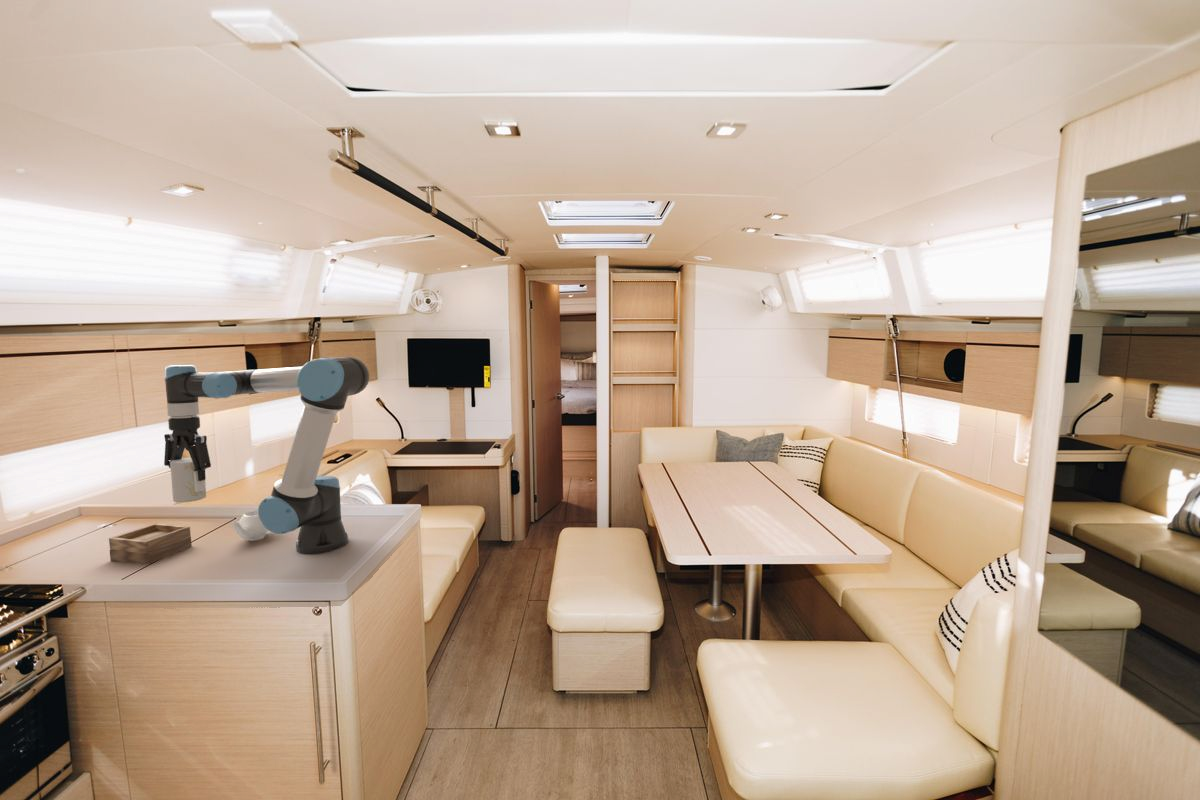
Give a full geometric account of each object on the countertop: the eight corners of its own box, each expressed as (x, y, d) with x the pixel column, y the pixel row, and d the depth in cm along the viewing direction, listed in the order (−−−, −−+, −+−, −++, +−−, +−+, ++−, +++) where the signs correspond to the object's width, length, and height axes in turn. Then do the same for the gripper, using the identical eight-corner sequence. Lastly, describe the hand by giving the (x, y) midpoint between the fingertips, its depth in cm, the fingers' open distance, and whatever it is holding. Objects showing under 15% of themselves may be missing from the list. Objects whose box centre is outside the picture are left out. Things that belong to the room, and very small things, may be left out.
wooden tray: (190, 537, 175) (189, 526, 174) (145, 553, 161) (144, 542, 161) (156, 533, 178) (155, 523, 177) (109, 549, 164) (108, 538, 164)
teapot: (288, 529, 192) (286, 504, 191) (249, 551, 172) (247, 523, 171) (262, 529, 192) (260, 503, 191) (220, 550, 172) (218, 522, 171)
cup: (188, 503, 160) (185, 464, 159) (166, 501, 162) (163, 462, 161) (212, 495, 168) (210, 458, 167) (191, 494, 170) (188, 456, 168)
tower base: (191, 546, 176) (190, 536, 175) (149, 564, 162) (148, 552, 162) (155, 544, 178) (154, 534, 177) (110, 561, 164) (109, 550, 164)
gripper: (222, 416, 163) (227, 489, 166) (170, 413, 169) (175, 483, 171) (198, 419, 156) (203, 495, 158) (144, 416, 161) (150, 490, 164)
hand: (189, 489), depth 165 cm, fingers closed on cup, 8 cm apart
